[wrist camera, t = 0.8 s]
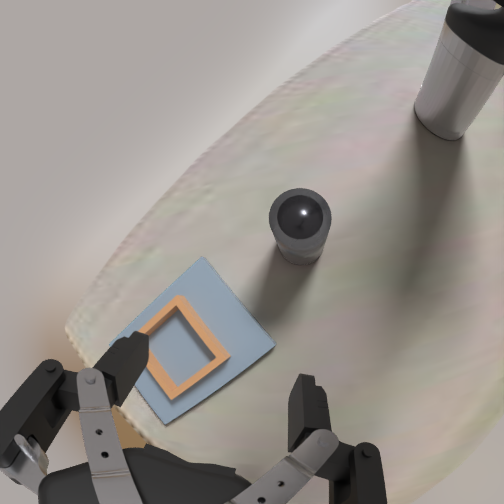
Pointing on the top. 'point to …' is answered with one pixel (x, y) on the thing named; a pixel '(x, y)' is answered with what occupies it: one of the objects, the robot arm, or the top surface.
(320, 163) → the top surface
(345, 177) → the top surface
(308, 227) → the grey capped cylinder
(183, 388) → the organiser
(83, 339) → the top surface
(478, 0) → the game console
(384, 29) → the top surface
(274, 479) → the robot arm
